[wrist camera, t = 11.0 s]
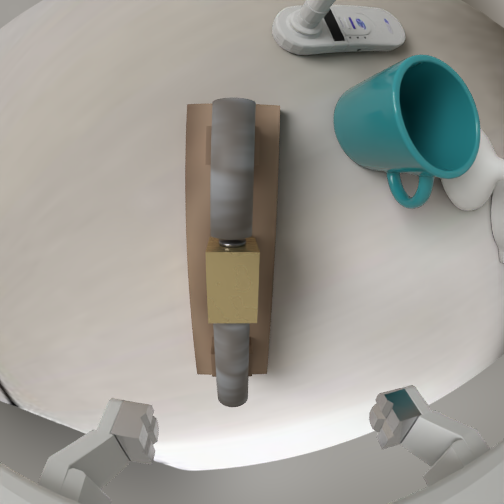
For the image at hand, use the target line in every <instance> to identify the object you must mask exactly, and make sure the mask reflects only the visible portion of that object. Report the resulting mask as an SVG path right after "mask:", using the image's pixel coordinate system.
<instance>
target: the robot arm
mask: <svg viewBox="0 0 504 504" xmlns="http://www.w3.org/2000/svg"><path fill="white" fill-rule="evenodd" d="M491 223H492V231H493V236H494V239H495V242H496V244H497V246H498V248H499V258H500V262H501V263H503V264H504V180H500V181H498V182H497V183H496V186H495V188H494V190H493V196H492V206H491ZM376 402H377V404H375V405H374V406H373V407H372V409H371V411H370V417H369V420H370V424H371V426H372V429H374V430H375V431H377V432H378V434H377V439H378V441H379V444H380V446H381V448H382V449H385V448H388V447H392V446H395V445H398V444H400V445H401V446H402V447H404V448H405V449H407V450H408V451H409V452H411V453H412V454H414V455H415V456H417V457H418V458H419V459H421V460H422V461H424V462H425V463H427V464H428V465H430V466H431V468H430V469H429V470H428V471H427V472H426V473H425V474H424V477H423V478H424V480H425V481H426V484H427V486H428V487H425V488H423V489H421V490H419V491H417V492H415V493H412V494H410V495H408V496H405V497H403V498H400V499H398V500H395V501H393V502H390V503H388V504H504V439H503V440H502V441H501V442H499V443H498V444H497V445H495V446H494V447H493V448H491V449H490V448H489V446H488V445H487V443H486V442H485V441H484V439H483V438H482V436H481V435H480V433H479V432H478V431H477V430H476V429H475V428H473V427H470V426H468V425H466V424H464V423H461V422H459V421H457V420H455V419H452V418H450V417H448V416H446V415H444V414H442V413H439V412H437V411H436V410H434V411H432V410H431V409H430V407H429V406H428V404H427V403H426V401H425V400H424V399H423V397H422V396H421V394H420V393H419V392H418V390H417V389H416V387H415V386H413V385H411V386H407V387H403V388H399V389H395V390H391V391H387V392H383V393H380V394H379V395H377V398H376ZM153 413H154V410H153V407H152V405H149V404H142V403H136V402H130V401H125V400H119V399H114V398H111V399H110V400H109V402H108V404H107V406H106V409H105V411H104V413H103V416H102V418H101V420H100V423H99V425H98V428H97V430H92V431H90V432H89V433H87V434H85V435H84V436H83V437H81V438H79V439H78V440H76V441H75V442H73V443H71V444H70V445H69V446H67V447H65V448H64V449H62V450H60V451H58V452H57V453H55V454H54V455H52V456H50V457H49V458H48V460H47V463H46V465H45V467H44V470H43V472H42V474H41V477H40V479H39V482H38V484H37V483H35V482H33V481H31V480H29V479H27V478H25V477H24V476H22V475H20V474H18V473H16V472H15V471H13V470H12V469H10V468H9V467H7V466H5V465H4V464H2V463H1V462H0V504H112V501H111V499H110V498H109V497H108V496H107V495H106V494H105V493H103V491H102V490H101V489H102V488H103V487H105V486H106V485H107V484H108V483H109V482H110V481H111V480H112V479H113V478H114V477H115V476H116V475H118V474H119V473H120V472H121V471H122V470H123V469H124V468H125V467H126V466H127V465H128V464H129V463H130V461H132V462H138V463H145V464H151V465H152V464H153V459H154V455H155V449H154V447H153V444H154V443H156V442H157V440H158V435H159V426H158V421H157V418H155V417H154V416H153Z"/></svg>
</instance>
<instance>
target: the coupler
mask: <svg viewBox="0 0 504 504" xmlns="http://www.w3.org/2000/svg"><path fill="white" fill-rule="evenodd" d="M205 254H206V284H207V307H208V323H257V313H258V288H259V262H260V251H259V248H258V245H257V242H256V239H255V237H249V238H245V239H236V240H227V239H218V238H215V237H209V241H208V245H207V248H206V252H205Z"/></svg>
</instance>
